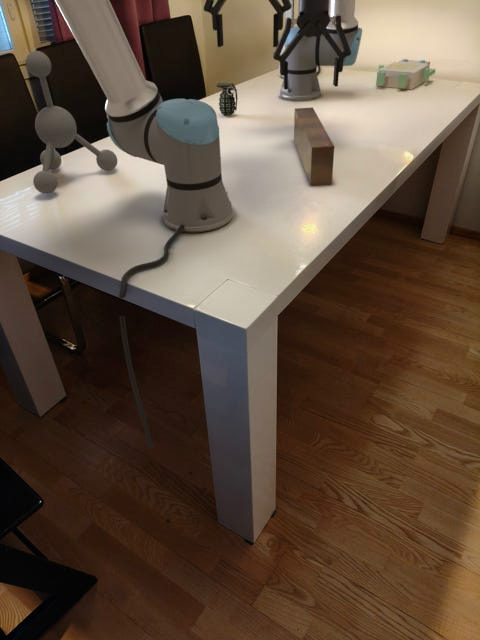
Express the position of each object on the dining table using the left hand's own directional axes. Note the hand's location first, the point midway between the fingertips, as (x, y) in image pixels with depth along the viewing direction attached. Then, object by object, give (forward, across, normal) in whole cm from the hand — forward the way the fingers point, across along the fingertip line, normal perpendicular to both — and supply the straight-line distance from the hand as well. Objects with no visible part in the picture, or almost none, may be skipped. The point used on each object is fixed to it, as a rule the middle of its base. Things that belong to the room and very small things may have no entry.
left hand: (247, 46), depth 117 cm
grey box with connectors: (+25, -42, -92) cm, 104 cm away
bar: (+28, -16, -2) cm, 32 cm away
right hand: (+12, -14, -15) cm, 23 cm away
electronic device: (+25, +3, -102) cm, 105 cm away
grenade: (+27, +17, -43) cm, 53 cm away
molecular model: (+29, +43, +16) cm, 55 cm away
